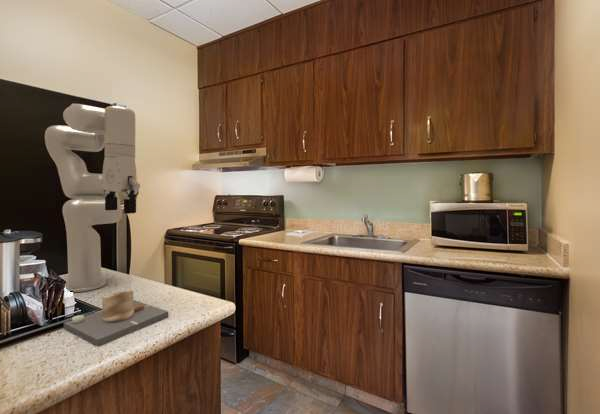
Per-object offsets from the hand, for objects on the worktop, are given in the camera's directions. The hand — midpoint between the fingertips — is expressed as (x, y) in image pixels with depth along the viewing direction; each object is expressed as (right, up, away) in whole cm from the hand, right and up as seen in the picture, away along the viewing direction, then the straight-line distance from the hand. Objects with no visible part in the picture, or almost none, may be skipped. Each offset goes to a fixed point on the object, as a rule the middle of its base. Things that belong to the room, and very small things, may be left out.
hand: (120, 211), depth 86 cm
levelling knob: (+5, -27, -7) cm, 29 cm away
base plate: (+4, -29, -8) cm, 30 cm away
